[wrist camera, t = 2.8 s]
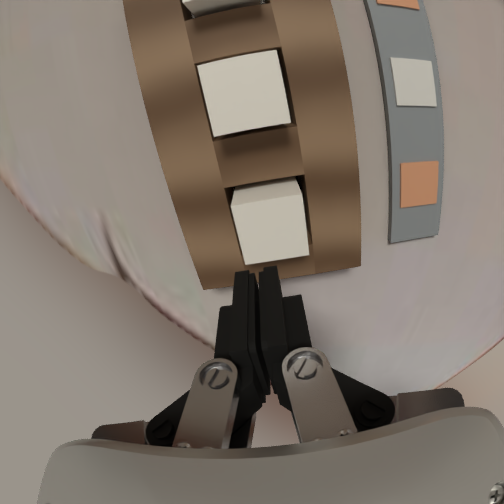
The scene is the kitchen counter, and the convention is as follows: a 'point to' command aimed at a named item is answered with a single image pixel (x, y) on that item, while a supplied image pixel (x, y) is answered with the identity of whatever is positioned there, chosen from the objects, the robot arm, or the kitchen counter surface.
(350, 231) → the button board
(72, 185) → the kitchen counter surface
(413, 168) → the pattern card
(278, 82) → the button middle
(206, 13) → the button
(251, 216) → the button
